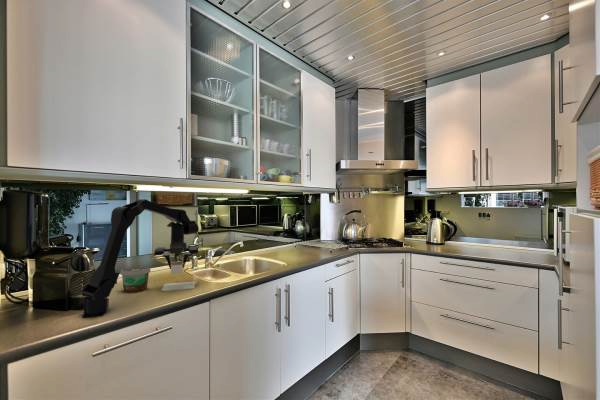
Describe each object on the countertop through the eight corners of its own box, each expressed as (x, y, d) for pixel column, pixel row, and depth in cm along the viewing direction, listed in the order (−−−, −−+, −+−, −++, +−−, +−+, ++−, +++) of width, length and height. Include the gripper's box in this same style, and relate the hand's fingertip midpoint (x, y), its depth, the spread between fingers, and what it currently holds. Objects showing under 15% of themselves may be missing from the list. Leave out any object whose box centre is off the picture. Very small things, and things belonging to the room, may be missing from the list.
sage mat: (161, 291, 125) (161, 290, 125) (164, 285, 134) (164, 283, 134) (194, 288, 129) (194, 287, 129) (195, 282, 139) (195, 281, 139)
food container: (115, 294, 120) (115, 271, 120) (120, 290, 126) (120, 268, 126) (146, 292, 123) (147, 270, 123) (150, 288, 129) (150, 267, 129)
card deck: (170, 274, 126) (170, 265, 126) (171, 270, 133) (171, 262, 133) (182, 273, 128) (182, 264, 128) (182, 269, 135) (182, 261, 135)
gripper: (152, 238, 120) (151, 274, 120) (198, 237, 126) (197, 271, 126) (156, 235, 131) (156, 268, 130) (198, 234, 137) (198, 266, 137)
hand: (176, 268), depth 131 cm, fingers closed on card deck, 5 cm apart
